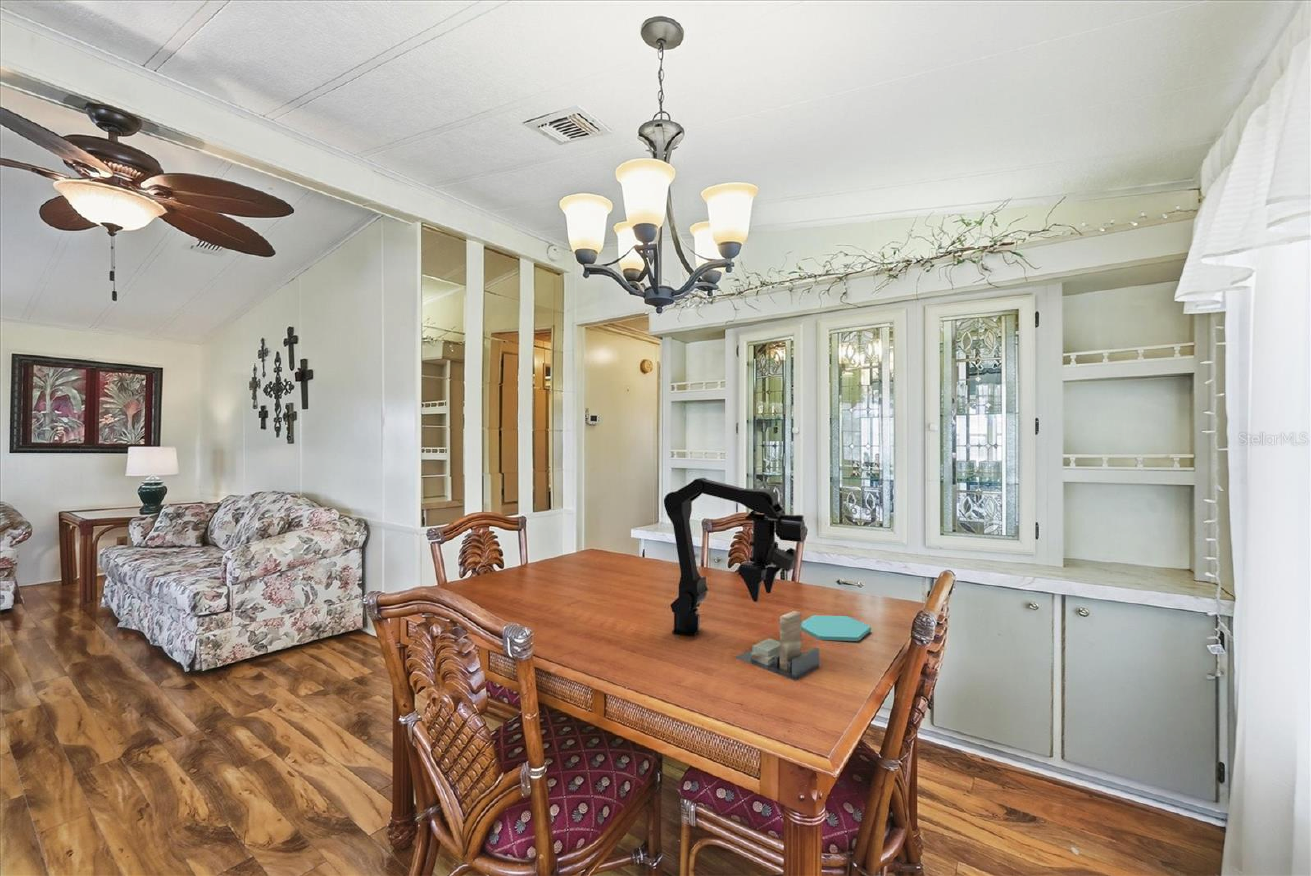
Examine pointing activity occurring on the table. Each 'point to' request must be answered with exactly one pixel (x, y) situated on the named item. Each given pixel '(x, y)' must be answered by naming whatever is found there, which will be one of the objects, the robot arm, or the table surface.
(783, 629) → the birch block
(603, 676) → the table surface
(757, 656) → the offcut lower
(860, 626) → the plaque
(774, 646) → the offcut upper
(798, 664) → the offcut rack
